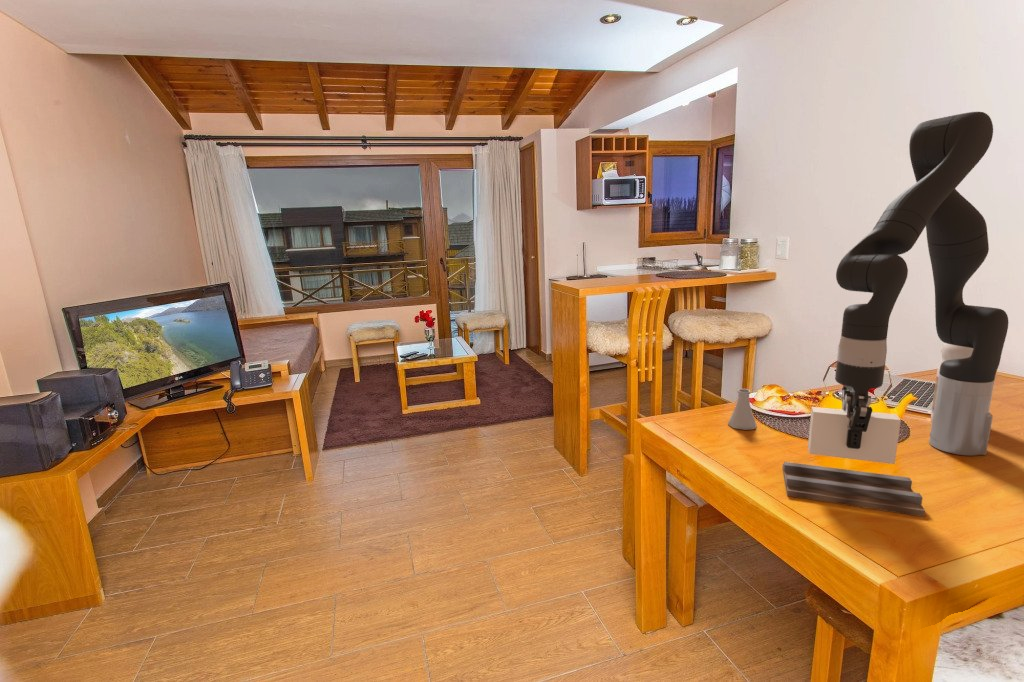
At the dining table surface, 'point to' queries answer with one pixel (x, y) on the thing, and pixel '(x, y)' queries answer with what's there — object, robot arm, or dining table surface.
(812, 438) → the panel
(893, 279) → the robot arm
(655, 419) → the dining table surface
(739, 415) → the flask
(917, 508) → the track
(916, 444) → the dining table surface
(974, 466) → the dining table surface
